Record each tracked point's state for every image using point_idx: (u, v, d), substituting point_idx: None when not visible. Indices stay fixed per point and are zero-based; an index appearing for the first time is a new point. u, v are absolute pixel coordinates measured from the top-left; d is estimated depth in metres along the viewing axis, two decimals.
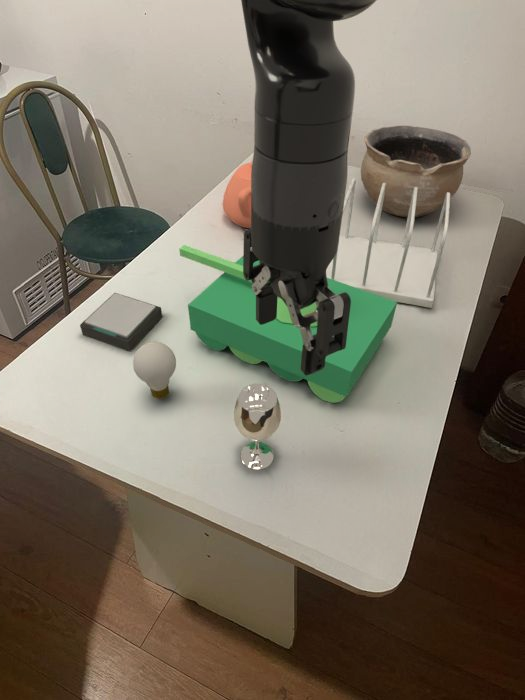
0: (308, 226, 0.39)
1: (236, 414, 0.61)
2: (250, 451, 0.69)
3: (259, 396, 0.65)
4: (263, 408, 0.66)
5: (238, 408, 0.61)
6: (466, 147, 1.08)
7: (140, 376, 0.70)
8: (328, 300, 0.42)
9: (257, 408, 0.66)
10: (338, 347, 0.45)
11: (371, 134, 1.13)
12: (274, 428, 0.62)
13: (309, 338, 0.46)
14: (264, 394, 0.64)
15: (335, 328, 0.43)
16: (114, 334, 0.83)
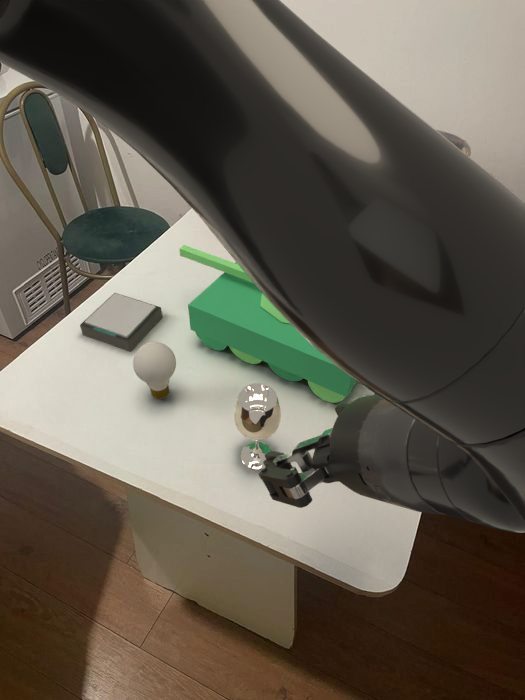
0: (359, 461, 0.33)
1: (236, 414, 0.61)
2: (250, 451, 0.69)
3: (259, 396, 0.65)
4: (263, 408, 0.66)
5: (238, 408, 0.61)
6: (466, 147, 1.08)
7: (140, 376, 0.70)
8: (296, 481, 0.37)
9: (257, 408, 0.66)
10: (270, 491, 0.42)
11: None
12: (274, 428, 0.62)
13: (282, 460, 0.43)
14: (265, 394, 0.64)
15: (278, 488, 0.40)
16: (114, 334, 0.83)
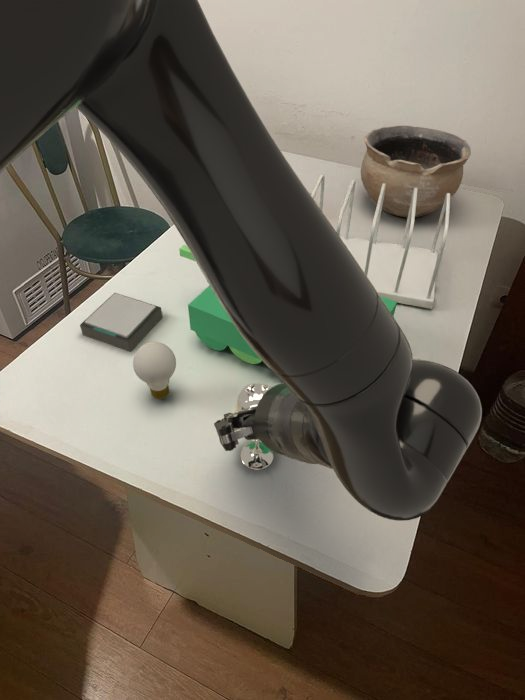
0: (268, 421, 0.49)
1: None
2: (250, 451, 0.69)
3: (259, 395, 0.65)
4: None
5: (238, 408, 0.61)
6: (466, 147, 1.08)
7: (140, 376, 0.70)
8: (225, 432, 0.54)
9: None
10: (219, 437, 0.59)
11: (371, 134, 1.13)
12: None
13: (233, 417, 0.59)
14: None
15: (219, 435, 0.56)
16: (114, 334, 0.83)
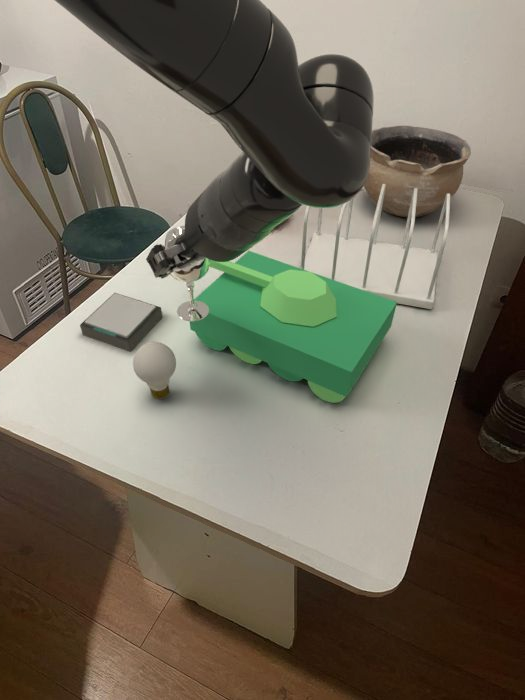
0: (198, 214, 0.51)
1: None
2: (185, 307, 0.71)
3: None
4: None
5: None
6: (466, 147, 1.08)
7: (140, 376, 0.70)
8: (159, 249, 0.55)
9: None
10: (153, 271, 0.60)
11: None
12: (205, 264, 0.64)
13: None
14: None
15: (153, 261, 0.58)
16: (114, 334, 0.83)
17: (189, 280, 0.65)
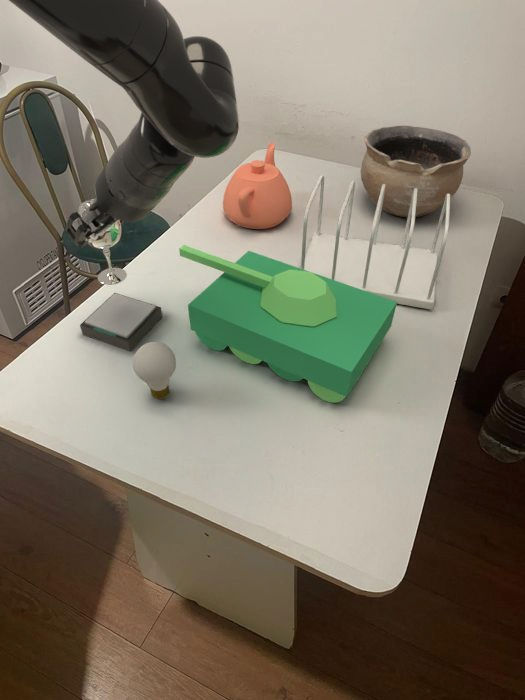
0: (107, 180, 0.61)
1: None
2: (105, 274, 0.80)
3: None
4: None
5: None
6: (466, 147, 1.08)
7: (140, 376, 0.70)
8: (76, 216, 0.64)
9: None
10: (72, 238, 0.69)
11: (371, 134, 1.13)
12: (118, 230, 0.74)
13: None
14: None
15: (71, 229, 0.66)
16: (114, 334, 0.83)
17: (105, 246, 0.74)
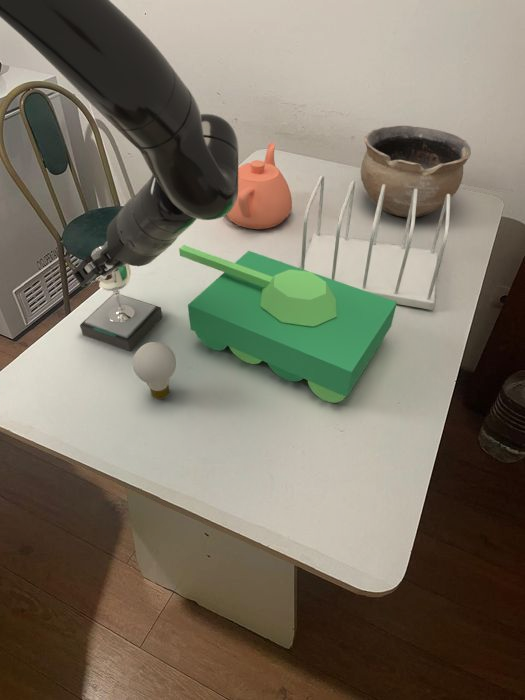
0: (118, 231, 0.65)
1: None
2: (114, 312, 0.85)
3: None
4: None
5: None
6: (466, 147, 1.08)
7: (140, 376, 0.70)
8: (90, 259, 0.69)
9: None
10: (79, 281, 0.72)
11: (371, 134, 1.13)
12: (127, 275, 0.79)
13: None
14: None
15: (82, 272, 0.70)
16: (114, 334, 0.83)
17: (115, 289, 0.79)
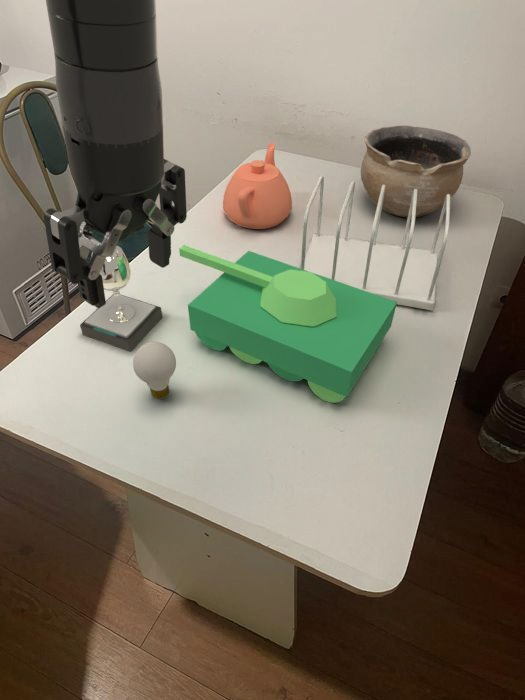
0: (64, 128, 0.38)
1: None
2: (114, 312, 0.85)
3: (108, 259, 0.81)
4: None
5: None
6: (466, 147, 1.08)
7: (140, 376, 0.70)
8: (53, 211, 0.40)
9: None
10: (65, 274, 0.43)
11: (371, 134, 1.13)
12: (127, 275, 0.79)
13: None
14: (112, 256, 0.81)
15: (55, 246, 0.41)
16: (114, 334, 0.83)
17: (115, 289, 0.79)
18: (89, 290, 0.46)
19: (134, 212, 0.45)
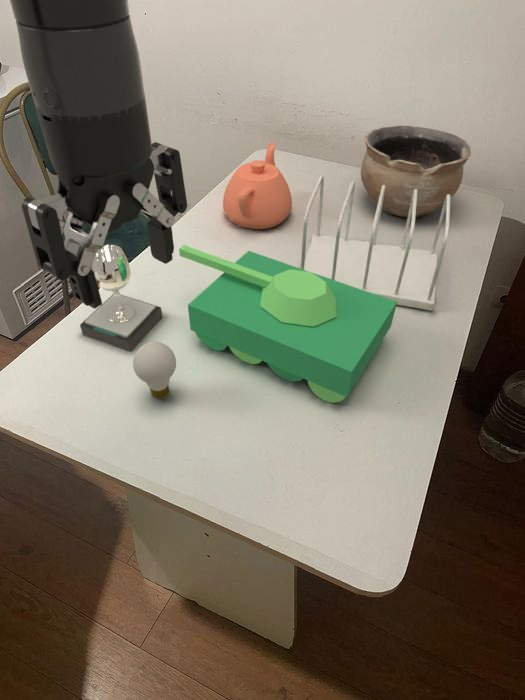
0: (36, 105, 0.35)
1: (94, 271, 0.77)
2: (114, 312, 0.85)
3: (108, 259, 0.81)
4: None
5: (94, 265, 0.77)
6: (466, 147, 1.08)
7: (140, 376, 0.70)
8: (31, 199, 0.37)
9: None
10: (51, 270, 0.39)
11: (371, 134, 1.13)
12: (127, 275, 0.79)
13: None
14: (112, 256, 0.81)
15: (37, 239, 0.38)
16: (114, 334, 0.83)
17: (115, 289, 0.79)
18: (81, 288, 0.42)
19: (124, 199, 0.41)
